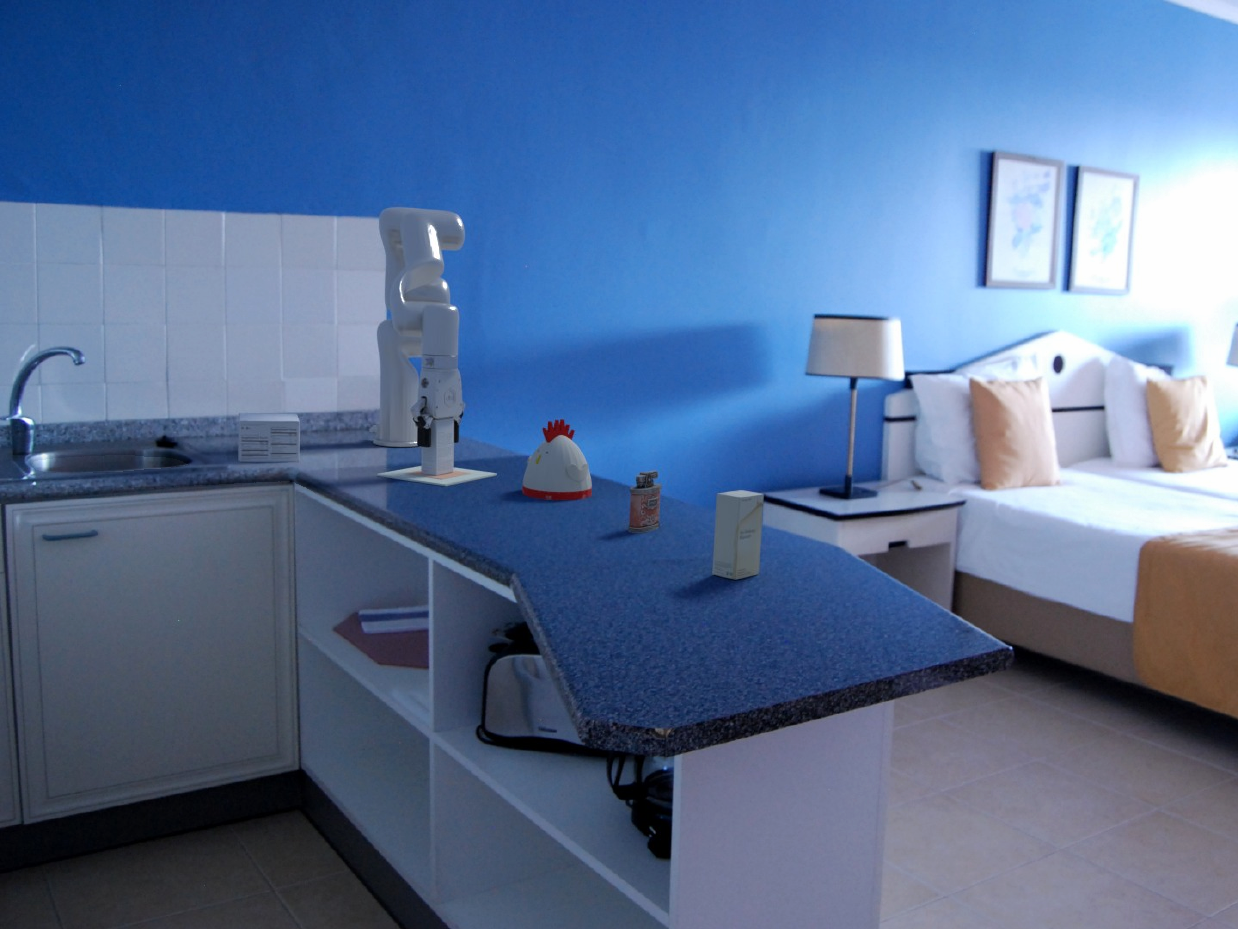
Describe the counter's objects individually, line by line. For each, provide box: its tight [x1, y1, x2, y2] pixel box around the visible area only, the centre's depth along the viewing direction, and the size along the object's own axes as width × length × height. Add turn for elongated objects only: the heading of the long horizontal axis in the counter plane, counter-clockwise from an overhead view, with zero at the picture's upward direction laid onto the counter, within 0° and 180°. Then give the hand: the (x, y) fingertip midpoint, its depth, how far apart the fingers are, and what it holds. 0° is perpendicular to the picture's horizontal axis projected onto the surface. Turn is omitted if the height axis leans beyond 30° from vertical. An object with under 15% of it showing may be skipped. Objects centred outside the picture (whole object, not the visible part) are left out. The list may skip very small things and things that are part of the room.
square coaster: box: [376, 465, 498, 487], centre depth 229 cm, size 18×18×1 cm
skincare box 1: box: [420, 417, 455, 476], centre depth 228 cm, size 6×4×12 cm
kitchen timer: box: [521, 418, 593, 501], centre depth 214 cm, size 14×14×15 cm
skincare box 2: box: [711, 489, 765, 580], centre depth 156 cm, size 6×4×12 cm
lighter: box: [627, 470, 663, 534], centre depth 185 cm, size 8×3×10 cm, turn 148°
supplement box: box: [237, 412, 301, 463], centre depth 244 cm, size 17×13×9 cm
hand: (438, 444), depth 228 cm, fingers open, 9 cm apart
